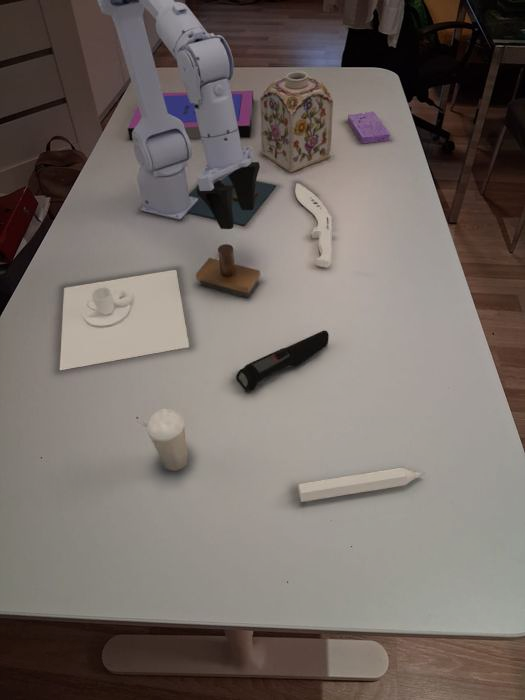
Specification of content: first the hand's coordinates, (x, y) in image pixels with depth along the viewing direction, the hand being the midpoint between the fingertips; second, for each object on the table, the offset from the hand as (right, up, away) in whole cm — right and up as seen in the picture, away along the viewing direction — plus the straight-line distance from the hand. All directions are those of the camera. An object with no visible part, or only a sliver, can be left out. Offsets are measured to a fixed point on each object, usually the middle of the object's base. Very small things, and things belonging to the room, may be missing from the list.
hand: (237, 218), depth 88 cm
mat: (-4, +11, +26) cm, 29 cm away
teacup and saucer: (-19, -16, +3) cm, 25 cm away
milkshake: (-8, -36, -17) cm, 41 cm away
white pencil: (+17, -39, -20) cm, 47 cm away
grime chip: (0, +11, +26) cm, 28 cm away
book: (-14, +39, +53) cm, 67 cm away
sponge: (+30, +33, +45) cm, 63 cm away
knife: (+14, +4, +19) cm, 24 cm away
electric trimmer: (+7, -24, -6) cm, 26 cm away
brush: (-2, -10, +7) cm, 12 cm away
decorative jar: (+12, +24, +38) cm, 46 cm away
